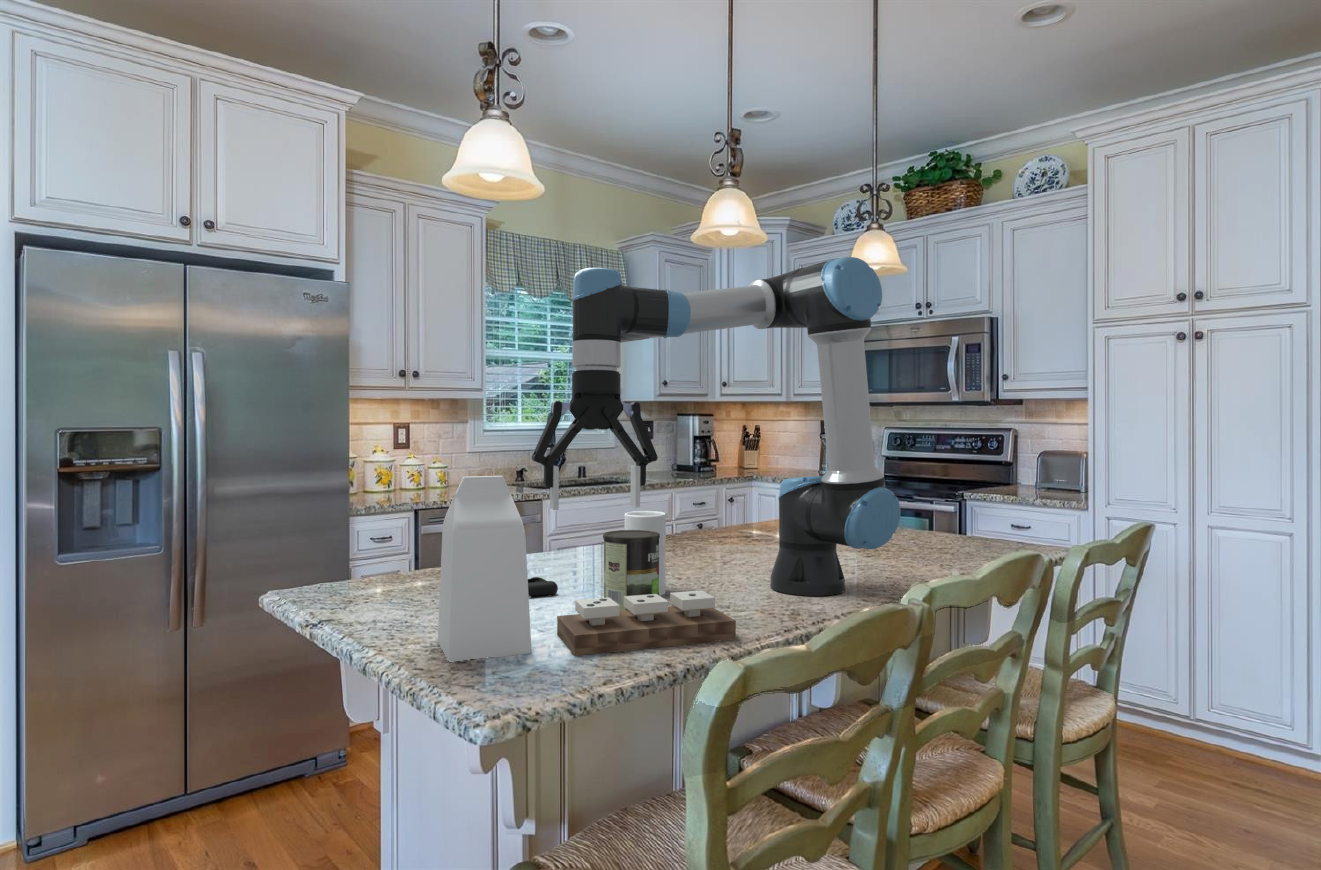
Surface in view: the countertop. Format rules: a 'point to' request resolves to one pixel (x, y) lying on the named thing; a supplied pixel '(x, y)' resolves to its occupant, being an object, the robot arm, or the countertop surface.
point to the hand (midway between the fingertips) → (595, 508)
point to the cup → (656, 524)
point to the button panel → (644, 631)
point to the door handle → (541, 587)
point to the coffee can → (630, 564)
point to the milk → (483, 574)
